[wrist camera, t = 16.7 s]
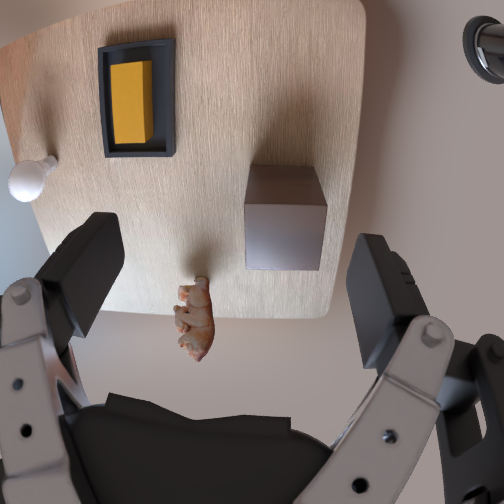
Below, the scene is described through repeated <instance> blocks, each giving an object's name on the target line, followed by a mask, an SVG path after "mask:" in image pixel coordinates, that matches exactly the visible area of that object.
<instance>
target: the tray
mask: <svg viewBox="0 0 504 504" xmlns="http://www.w3.org/2000/svg"><path fill="white" fill-rule="evenodd" d="M175 47H176V39H171V38H170V39H158V40H148V41H140V42H132V43H125V44H118V45H112V46H106V47H101V48H98V78H99V98H100V113H101V125H102V136H103V145H104V154H105V158H109V157H110V158H113V157H172V156H173V155H174V154H175V153H176V140H175ZM149 60H152V104H153V131H154V136H153V137H151V138H150V139H149V140H148V141H146V142H145V143H117V144H116V143H115V135H114V123H113V109H112V91H111V65H116V64H122V63H130V62H139V61H149Z"/></svg>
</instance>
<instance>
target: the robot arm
mask: <svg viewBox="0 0 504 504" xmlns="http://www.w3.org/2000/svg"><path fill="white" fill-rule="evenodd" d="M473 49H474V53H475V56H476V59H477V61H478V63H479V64H480V66H481V67H482V68H483V70H484V71H485V72H487V73H488V74H489V75H491V76H494V77H498V78H503V79H504V25H503V24H493V23H483V24H481V25H479V26H478V27H477V28H476V30H475V32H474V35H473ZM124 258H125V252H124V246H123V241H122V236H121V231H120V226H119V221H118V217H117V215H116V214H115V213H110V212H94V213H93V214H92V215H91V216H90V217H89V218H88V219H87V220H86V222H85V223H84V224H83V225H81V226H79V227H78V228H76V229H75V230H73V231H72V232H70V233H69V234H68V235H67V237H66V238H65V239H64V240H63V241H62V244H60V245H59V246H58V247H57V249H56V250H55V252H53V253H52V255H51V256H50V257H49V258H48V260H47V261H46V262H45V264H44V265H43V266H42V267H41V269H40V270H39V271H38V273H37V274H36V275H35V277H34V278H30V277H29V278H23V279H20V280H18V281H16V282H14V283H13V284H11V285H10V286H9V287H8V288H7V289H6V291H5V292H4V294H3V295H0V451H1V455H2V459H0V504H394V503H395V502H396V500H397V498H398V497H399V495H400V493H401V492H402V490H403V488H404V486H405V485H406V483H407V481H408V479H409V477H410V475H411V474H412V472H413V470H414V468H415V466H416V464H417V462H418V460H419V458H420V456H421V454H422V451H423V449H424V447H425V445H426V443H427V441H428V439H429V436H430V434H431V432H432V430H433V427H434V425H435V424H436V430H437V436H438V442H439V449H440V456H441V464H442V473H443V483H444V495H445V504H504V340H502V339H501V338H500V337H498V336H496V335H493V334H485V335H483V336H481V338H480V339H479V340H478V341H477V343H476V344H475V345H473V344H470V343H466V342H462V341H459V340H455V339H454V336H453V333H452V332H451V330H450V328H449V327H448V326H447V325H446V324H445V323H444V322H443V321H441V320H439V319H438V318H435V317H433V316H430V314H429V312H428V309H427V307H426V305H425V302H424V300H423V298H422V296H421V293H420V291H419V289H418V287H417V285H415V280H414V278H413V276H412V275H411V273H410V270H409V268H408V266H407V264H406V262H405V261H404V260H403V259H402V258H401V257H400V256H399V255H398V254H397V253H396V252H393V251H390V249H389V247H388V245H387V243H386V241H385V238H384V237H383V236H382V235H375V234H366V233H360V234H359V236H358V238H357V241H356V244H355V248H354V251H353V254H352V258H351V261H350V265H349V268H348V271H347V277H346V288H347V292H348V296H349V301H350V305H351V310H352V314H353V318H354V323H355V327H356V332H357V337H358V342H359V347H360V352H361V357H362V362H363V368H364V369H369V368H370V369H371V368H376V369H377V374H378V376H377V377H376V379H375V380H374V382H373V383H372V385H371V387H370V388H369V390H368V392H367V393H366V395H365V396H364V398H363V399H362V401H361V403H360V404H359V405H358V407H357V409H356V410H355V411H354V413H353V414H352V416H351V417H350V419H349V420H348V422H347V423H346V424H345V426H344V427H343V428H342V430H341V431H340V432H339V434H338V435H337V436H336V437H335V439H334V440H333V441H332V443H331V444H330V445H329V446H327V445H325V444H324V443H322V442H321V441H319V440H318V439H316V438H314V437H312V436H310V435H308V434H305V433H303V432H300V431H298V430H294V429H291V417H270V416H255V415H238V416H230V417H222V418H214V419H203V420H192V419H189V418H186V417H184V416H181V415H179V414H177V413H174V412H172V411H170V410H167V409H165V408H162V407H160V406H158V405H156V404H154V403H152V402H150V401H145V400H140V399H135V398H131V397H126V396H122V395H118V394H113V393H109V394H108V397H107V400H106V403H105V404H95V405H91V404H90V402H89V400H88V398H87V396H86V394H85V392H84V389H83V386H82V382H81V379H80V376H79V372H78V369H77V365H76V361H75V358H74V354H73V350H72V346H71V344H70V342H69V341H70V338H71V337H72V335H73V336H77V337H82V338H86V336H87V334H88V332H89V330H90V328H91V325H92V323H93V322H94V320H95V318H96V315H97V314H98V312H99V310H100V308H101V306H102V304H103V302H104V300H105V298H106V296H107V295H108V293H109V291H110V289H111V287H112V285H113V283H114V282H115V280H116V278H117V276H118V274H119V273H120V271H121V269H122V267H123V264H124ZM479 401H481V404H482V408H483V412H484V416H485V420H486V425H487V430H486V434H485V437H484V438H483V439H482V434H481V430H480V425H479V420H478V417H477V412H476V408H475V404H476V403H478V402H479Z"/></svg>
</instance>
